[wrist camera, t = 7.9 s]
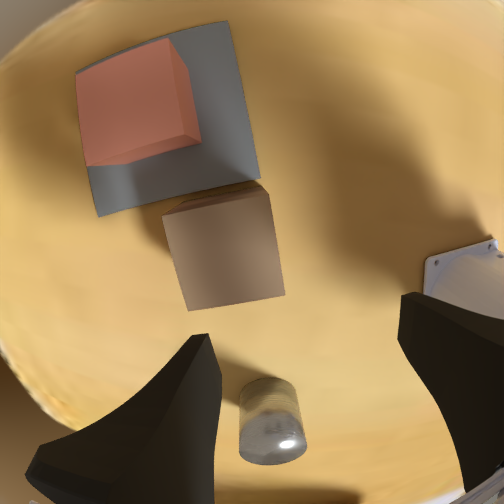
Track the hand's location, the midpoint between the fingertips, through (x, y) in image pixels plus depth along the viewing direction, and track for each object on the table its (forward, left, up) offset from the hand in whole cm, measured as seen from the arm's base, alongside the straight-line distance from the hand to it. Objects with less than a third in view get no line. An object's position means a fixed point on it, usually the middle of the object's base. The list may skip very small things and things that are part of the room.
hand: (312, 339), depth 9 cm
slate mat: (+6, -11, -9) cm, 15 cm away
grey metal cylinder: (+3, +13, -9) cm, 16 cm away
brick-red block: (+6, -11, -9) cm, 15 cm away
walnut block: (+3, -2, -9) cm, 10 cm away
